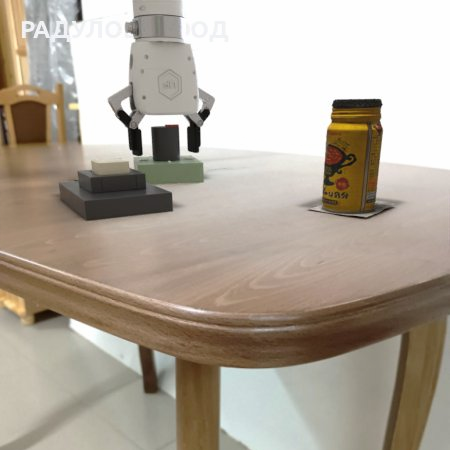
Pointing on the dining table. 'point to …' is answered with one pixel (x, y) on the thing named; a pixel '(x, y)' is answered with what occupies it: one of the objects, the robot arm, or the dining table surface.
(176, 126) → the volume knob
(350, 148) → the condiment
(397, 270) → the dining table surface
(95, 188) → the tiered dark pedestal
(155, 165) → the panel
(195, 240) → the dining table surface
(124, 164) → the white key
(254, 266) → the dining table surface
